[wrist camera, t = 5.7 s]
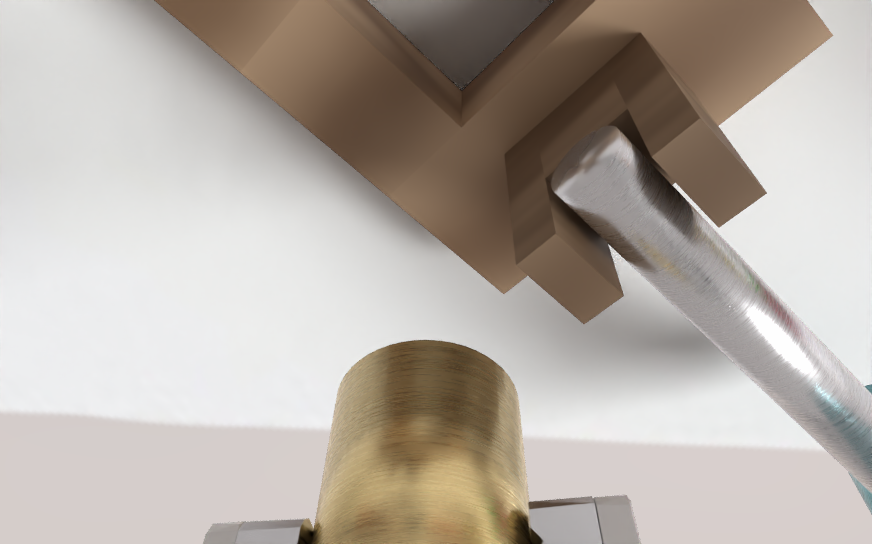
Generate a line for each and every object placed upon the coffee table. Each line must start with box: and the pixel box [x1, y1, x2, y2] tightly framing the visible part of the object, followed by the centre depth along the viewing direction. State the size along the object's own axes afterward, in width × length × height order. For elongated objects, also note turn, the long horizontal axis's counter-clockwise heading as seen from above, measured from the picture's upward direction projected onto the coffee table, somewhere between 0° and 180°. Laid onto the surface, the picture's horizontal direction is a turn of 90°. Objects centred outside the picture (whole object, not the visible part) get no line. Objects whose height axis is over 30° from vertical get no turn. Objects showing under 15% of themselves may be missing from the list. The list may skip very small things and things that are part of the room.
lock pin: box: [551, 126, 872, 514], centre depth 20 cm, size 18×3×7 cm, turn 46°
